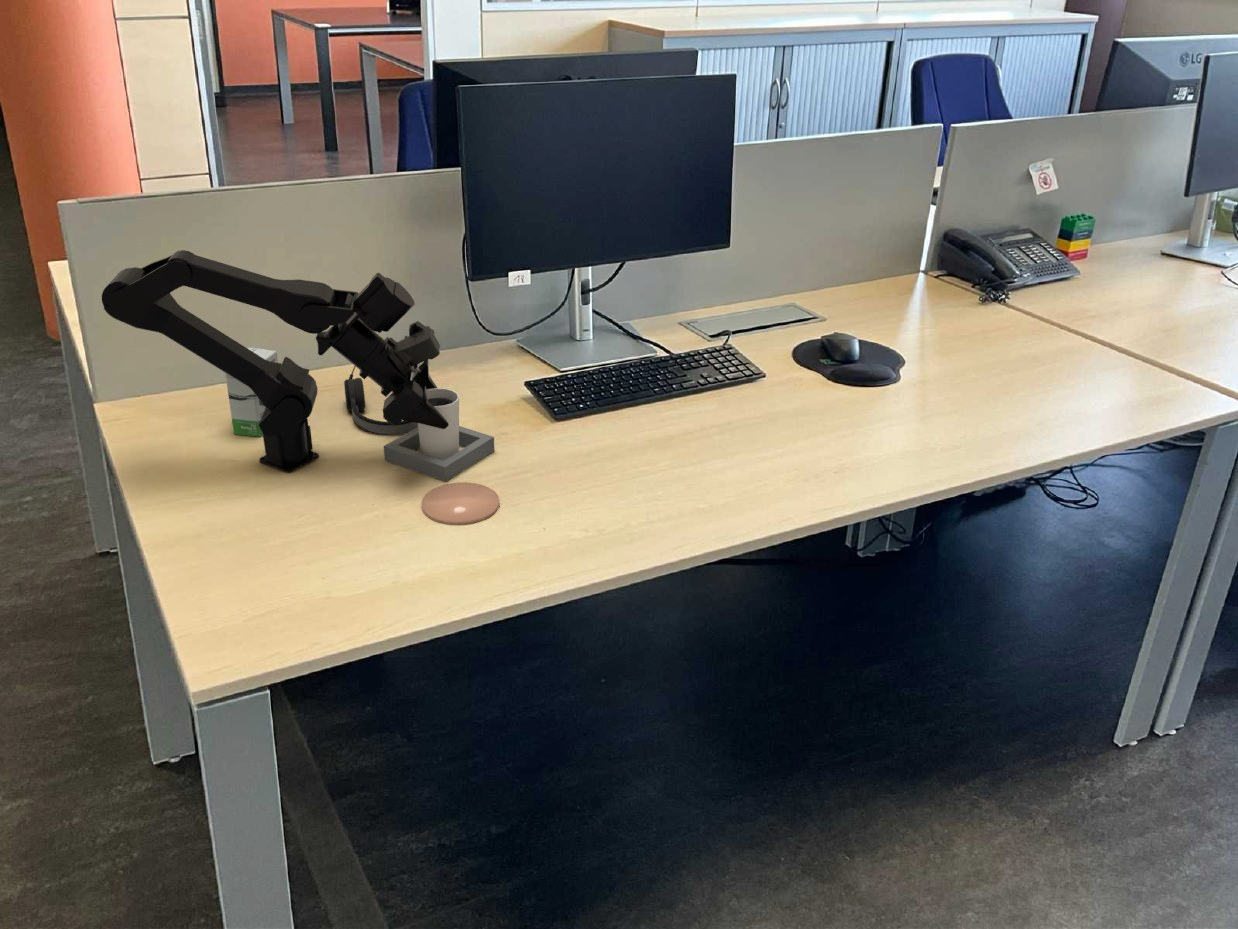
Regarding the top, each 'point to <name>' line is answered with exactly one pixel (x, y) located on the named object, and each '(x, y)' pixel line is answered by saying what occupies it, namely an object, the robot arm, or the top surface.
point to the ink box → (247, 401)
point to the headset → (357, 403)
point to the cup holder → (443, 470)
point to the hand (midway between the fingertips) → (447, 417)
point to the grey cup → (438, 439)
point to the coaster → (460, 503)
